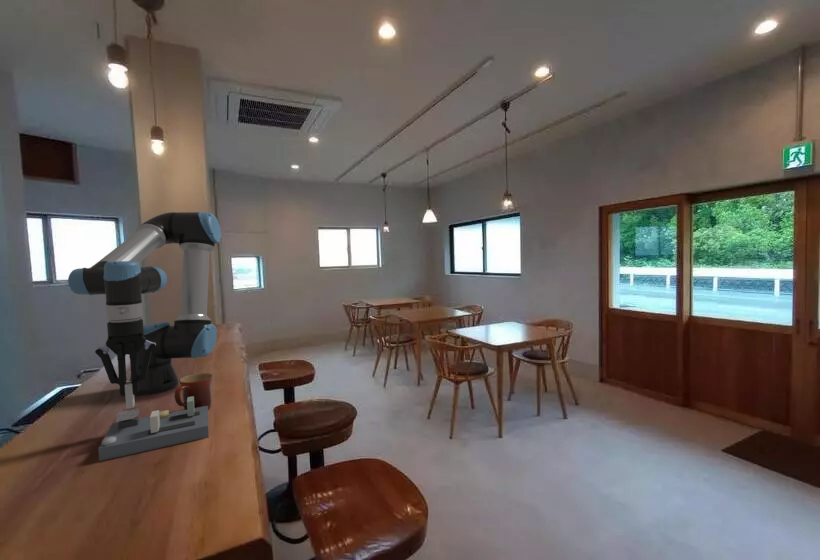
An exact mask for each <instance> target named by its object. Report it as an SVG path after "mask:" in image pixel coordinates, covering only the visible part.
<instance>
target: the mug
mask: <svg viewBox="0 0 820 560" xmlns="http://www.w3.org/2000/svg"><path fill="white" fill-rule="evenodd" d="M212 379H213V374H212V373H210V372H209V373H208V372H202V373H201V372H200V373H194V374H189V375H185V376H183V377H181V378H180V379H178V383H179V384H180V385H179V386H178V387H176V389H175V390H174V400H175V404H176V405H178V406H180V407H183V410H187V398H188V397H192V396H194V408H198V407H203V406H208V411H209V410H210V408H211V407H212V392H211V391H212V390H211V385H212ZM181 392H182V397H181ZM181 398H182V399H181Z"/></svg>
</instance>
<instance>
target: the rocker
mask: <svg viewBox="0 0 820 560" xmlns="http://www.w3.org/2000/svg"><path fill="white" fill-rule="evenodd" d="M139 414H140V407H138V406H136V407H133V408H129V409H126V408H125V409H122V410H121V411H120V412H118V413H117V414H116V415H115V423H116V422H119V421H123V420H129V419H134V418H135V417H138V416H139Z"/></svg>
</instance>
